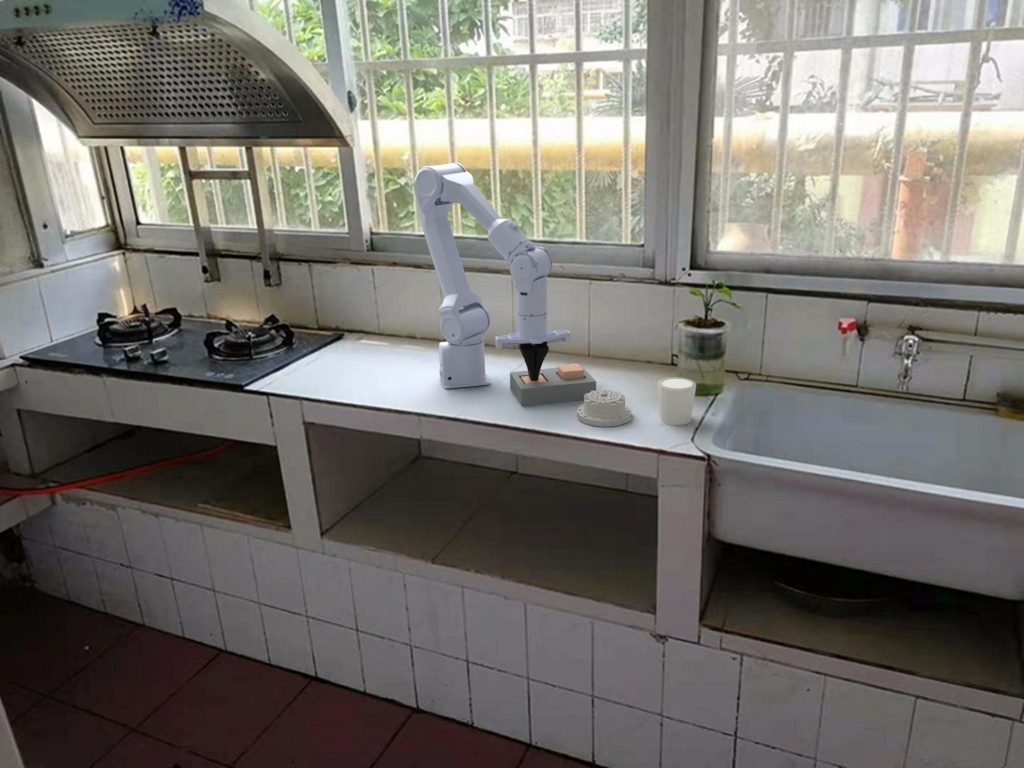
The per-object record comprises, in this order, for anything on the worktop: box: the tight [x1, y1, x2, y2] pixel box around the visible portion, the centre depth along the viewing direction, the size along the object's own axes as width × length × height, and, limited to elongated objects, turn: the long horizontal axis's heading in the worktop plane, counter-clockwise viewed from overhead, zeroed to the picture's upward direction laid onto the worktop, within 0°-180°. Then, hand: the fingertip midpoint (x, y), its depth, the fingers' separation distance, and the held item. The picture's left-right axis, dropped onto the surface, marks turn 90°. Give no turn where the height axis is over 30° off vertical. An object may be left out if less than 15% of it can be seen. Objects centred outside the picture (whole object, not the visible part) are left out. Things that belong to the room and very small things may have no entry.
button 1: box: [521, 375, 546, 384], centre depth 157 cm, size 4×4×3 cm
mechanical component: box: [576, 388, 633, 428], centre depth 146 cm, size 10×4×10 cm
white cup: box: [657, 376, 697, 426], centre depth 143 cm, size 7×7×7 cm
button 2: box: [557, 363, 584, 380], centre depth 158 cm, size 4×4×3 cm
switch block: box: [509, 364, 597, 407], centre depth 158 cm, size 15×10×4 cm, turn 102°
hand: (533, 379), depth 157 cm, fingers closed, pressing on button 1
